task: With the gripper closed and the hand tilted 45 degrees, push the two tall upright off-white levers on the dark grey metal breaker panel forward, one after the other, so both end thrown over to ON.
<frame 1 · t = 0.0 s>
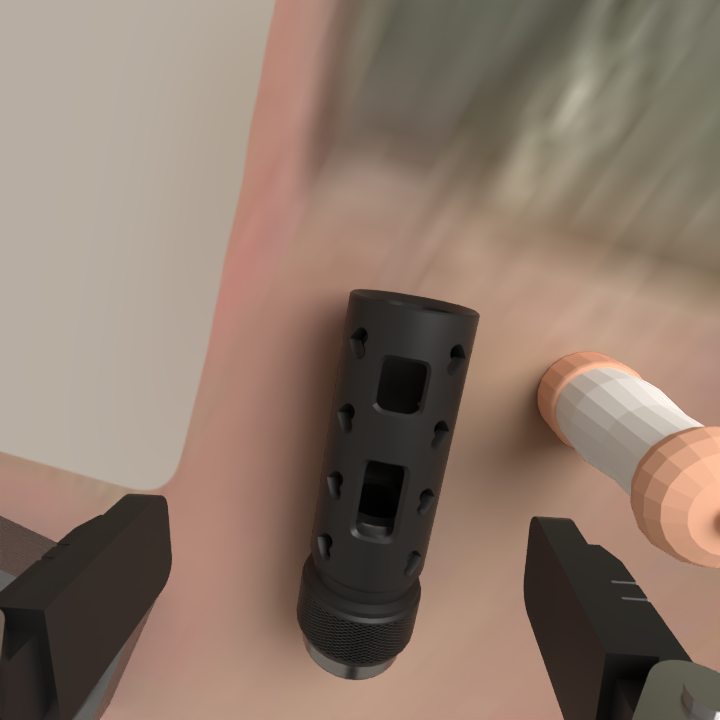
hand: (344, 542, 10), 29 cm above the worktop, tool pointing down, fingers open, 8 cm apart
pepper shaker: (582, 394, 39), on the worktop
breaker panel: (10, 593, 48), on the worktop
muzzle brake: (382, 452, 42), on the worktop
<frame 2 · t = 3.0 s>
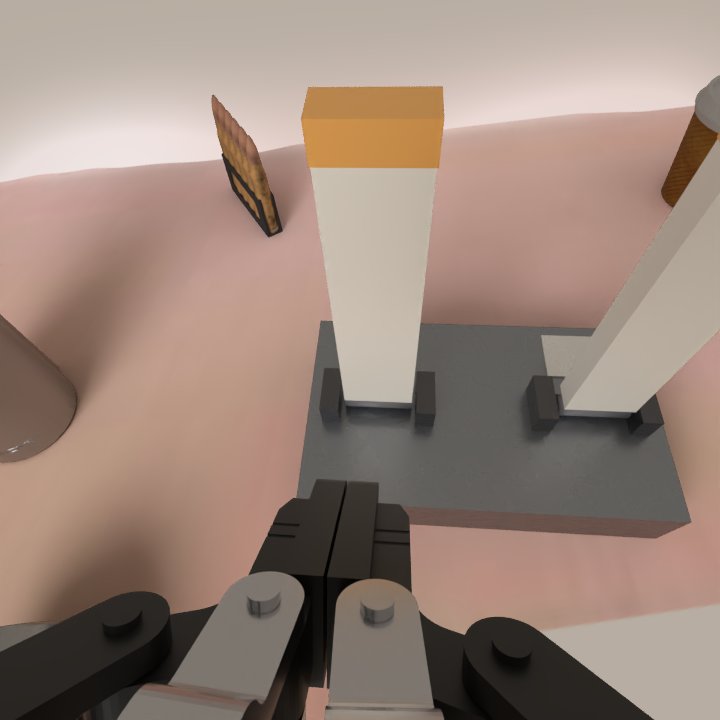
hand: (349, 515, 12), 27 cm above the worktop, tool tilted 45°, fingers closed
disposable coffee cup: (688, 198, 57), on the worktop
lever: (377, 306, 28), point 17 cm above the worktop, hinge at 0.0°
ammunition clip: (256, 210, 59), on the worktop
breaker panel: (470, 433, 42), on the worktop
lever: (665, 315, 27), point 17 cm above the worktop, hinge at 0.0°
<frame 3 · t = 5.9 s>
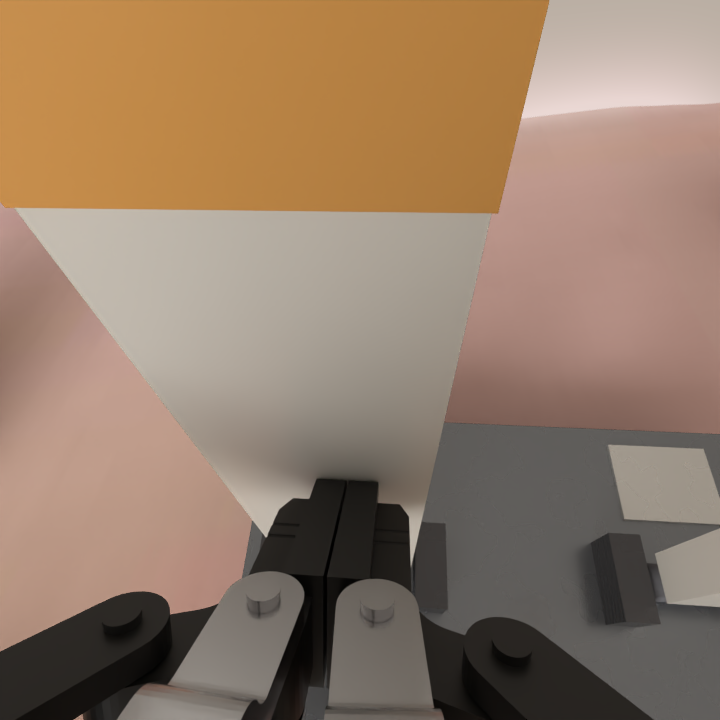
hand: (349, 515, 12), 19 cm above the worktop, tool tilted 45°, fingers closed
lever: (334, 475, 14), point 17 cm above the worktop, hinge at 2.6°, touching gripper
breaker panel: (498, 589, 27), on the worktop
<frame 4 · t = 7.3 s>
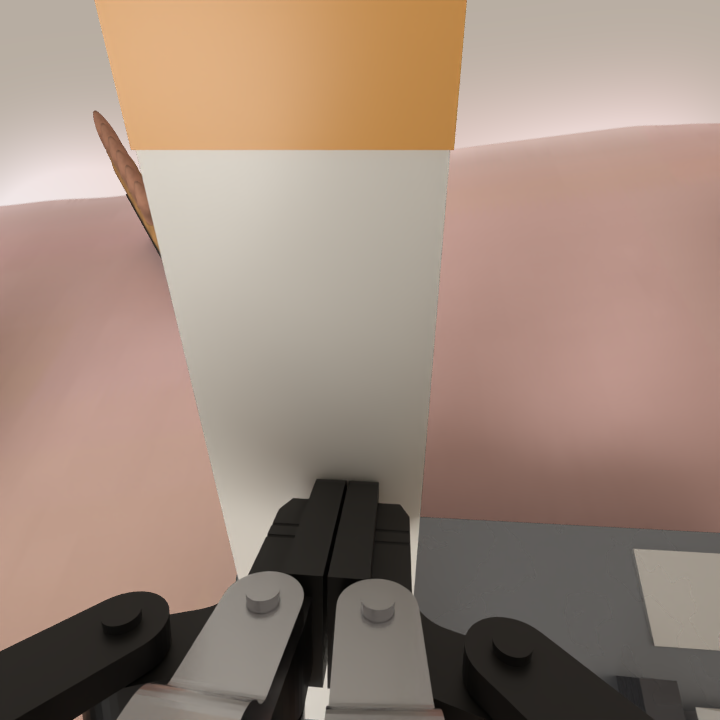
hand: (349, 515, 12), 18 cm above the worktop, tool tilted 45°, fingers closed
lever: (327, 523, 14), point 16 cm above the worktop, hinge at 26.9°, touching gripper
ammunition clip: (183, 273, 41), on the worktop
breaker panel: (506, 708, 24), on the worktop
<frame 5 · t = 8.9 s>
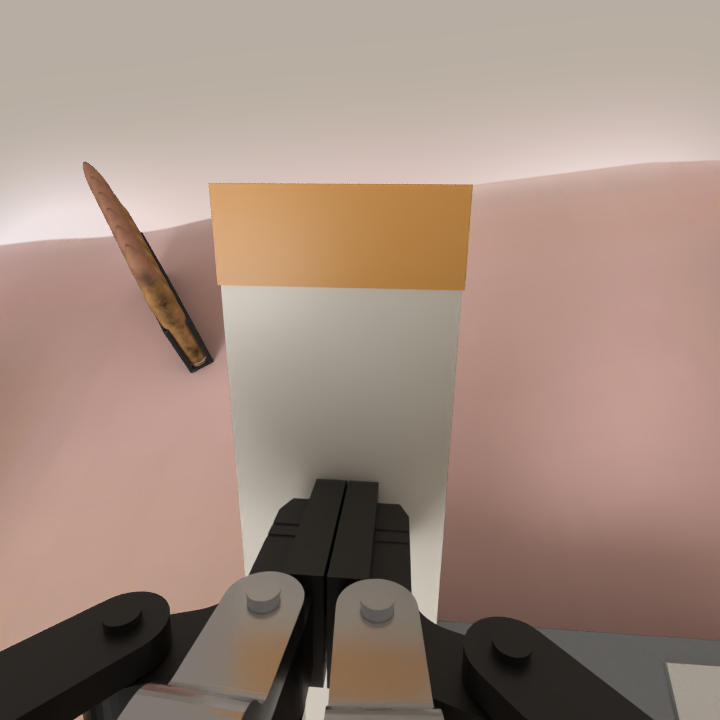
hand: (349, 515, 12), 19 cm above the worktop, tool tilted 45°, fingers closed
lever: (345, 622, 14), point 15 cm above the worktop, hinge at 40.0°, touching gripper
ammunition clip: (178, 322, 39), on the worktop
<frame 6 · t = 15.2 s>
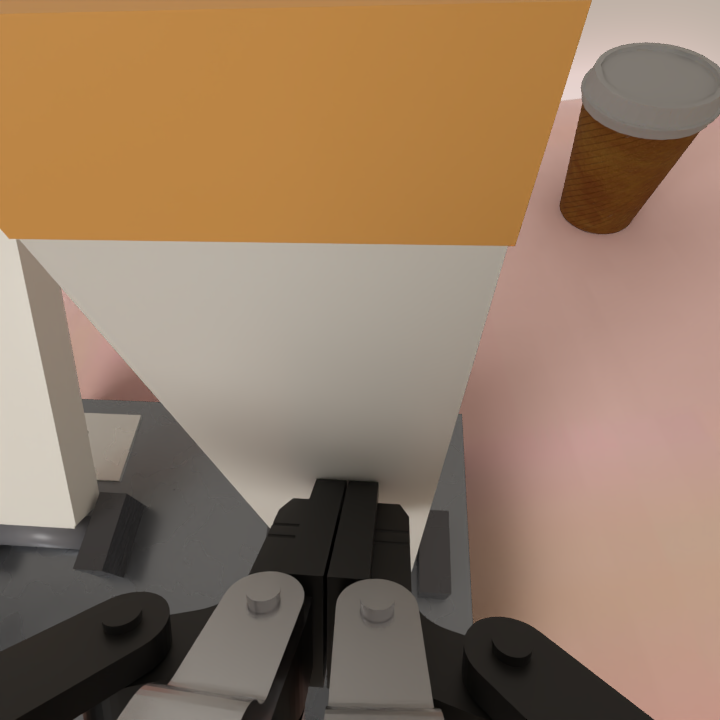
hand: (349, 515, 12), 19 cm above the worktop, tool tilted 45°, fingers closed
disposable coffee cup: (594, 211, 44), on the worktop
breaker panel: (230, 561, 29), on the worktop
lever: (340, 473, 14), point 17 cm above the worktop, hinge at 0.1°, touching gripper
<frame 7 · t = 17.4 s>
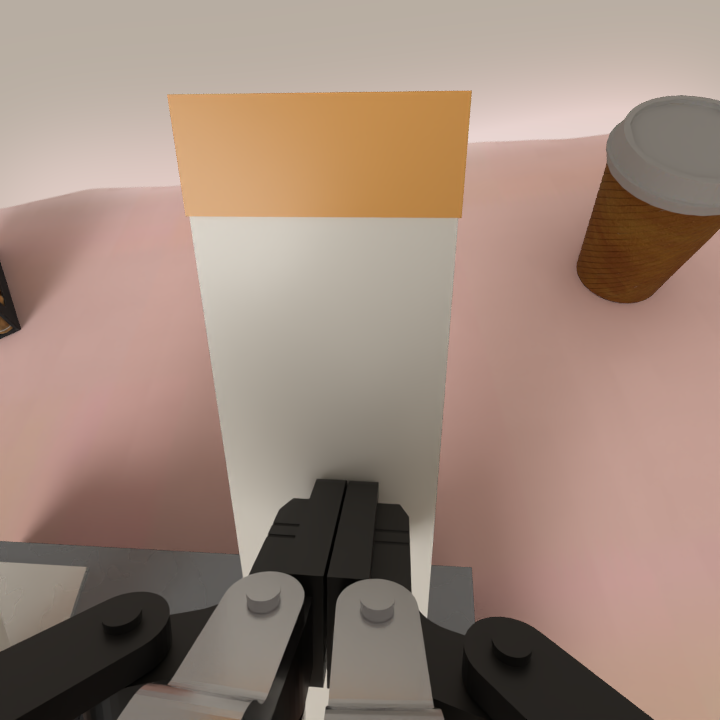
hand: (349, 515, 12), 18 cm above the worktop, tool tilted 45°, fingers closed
disposable coffee cup: (615, 274, 39), on the worktop
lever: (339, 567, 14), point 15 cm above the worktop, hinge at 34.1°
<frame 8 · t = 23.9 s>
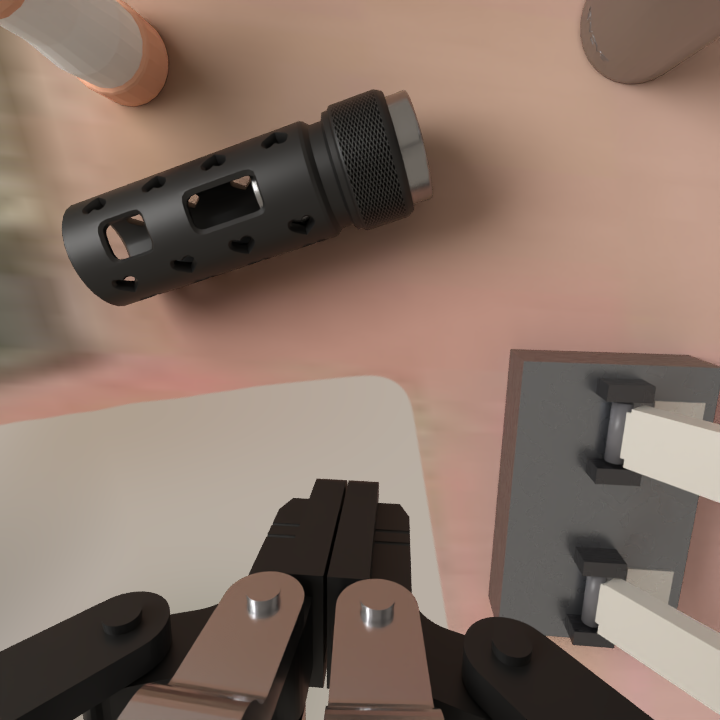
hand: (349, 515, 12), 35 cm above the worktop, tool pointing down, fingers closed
pepper shaker: (130, 62, 43), on the worktop
breaker panel: (580, 484, 48), on the worktop
muzzle brake: (271, 210, 45), on the worktop
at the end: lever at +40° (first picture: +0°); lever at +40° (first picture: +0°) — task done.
